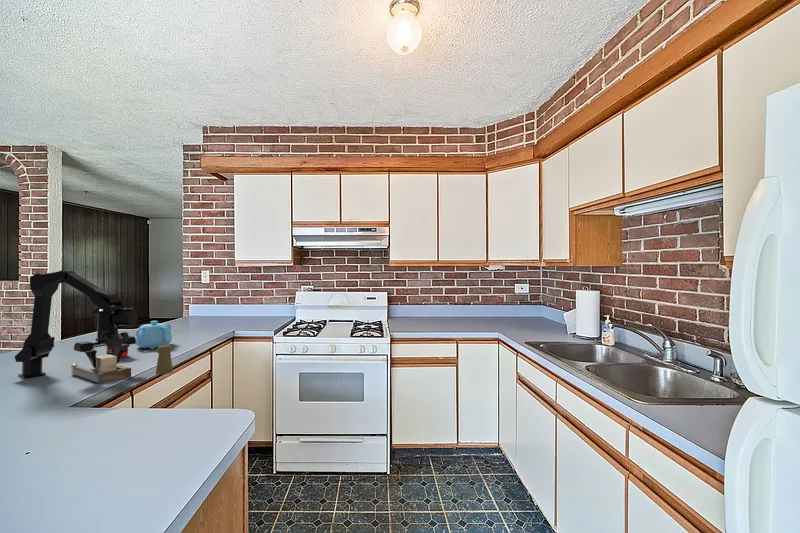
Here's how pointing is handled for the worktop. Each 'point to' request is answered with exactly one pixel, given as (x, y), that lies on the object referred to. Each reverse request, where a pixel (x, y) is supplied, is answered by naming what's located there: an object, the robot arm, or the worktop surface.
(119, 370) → the walnut cradle
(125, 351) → the canned food
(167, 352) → the cork
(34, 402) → the worktop surface
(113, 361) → the birch block
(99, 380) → the bar
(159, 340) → the decorative pot
